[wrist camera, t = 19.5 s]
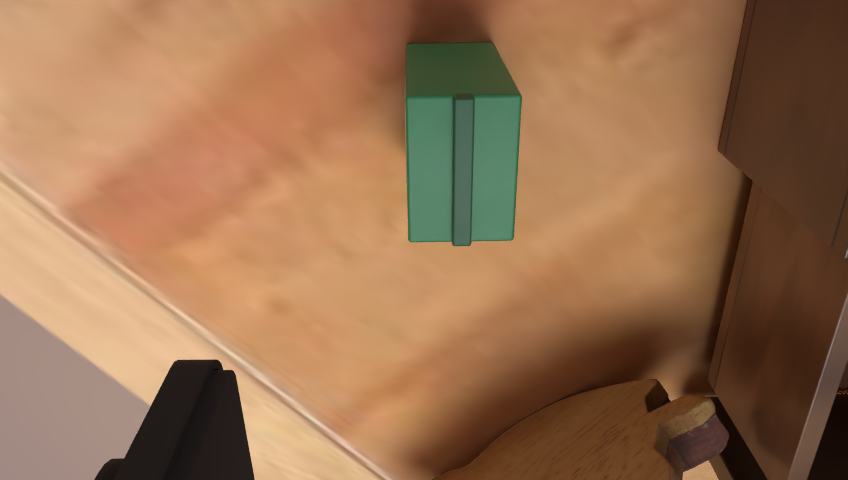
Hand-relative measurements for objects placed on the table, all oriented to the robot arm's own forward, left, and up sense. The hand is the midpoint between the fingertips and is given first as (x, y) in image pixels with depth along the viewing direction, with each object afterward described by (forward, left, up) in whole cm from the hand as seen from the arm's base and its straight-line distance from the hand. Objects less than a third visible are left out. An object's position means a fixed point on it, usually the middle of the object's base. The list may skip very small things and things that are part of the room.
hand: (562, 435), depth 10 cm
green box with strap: (+1, +1, -20) cm, 20 cm away
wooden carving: (-1, +19, -20) cm, 27 cm away
